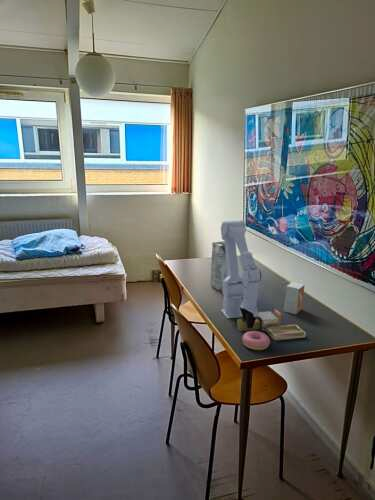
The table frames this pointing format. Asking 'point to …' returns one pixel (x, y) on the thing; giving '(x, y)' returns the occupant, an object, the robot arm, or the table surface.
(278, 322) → the salmon pink block
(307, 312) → the table surface
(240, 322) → the olive rectangular pillar
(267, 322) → the socket sleeve
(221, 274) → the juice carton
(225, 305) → the robot arm
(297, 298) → the small box
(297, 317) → the table surface
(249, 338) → the doughnut
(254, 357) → the table surface
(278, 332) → the beige tray
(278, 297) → the table surface
